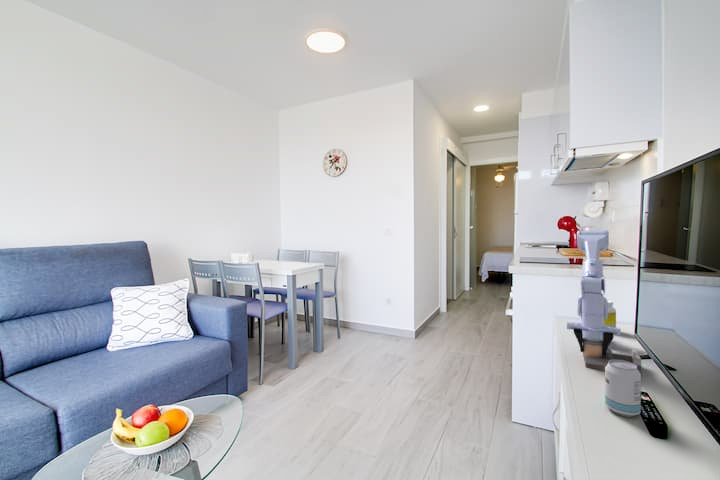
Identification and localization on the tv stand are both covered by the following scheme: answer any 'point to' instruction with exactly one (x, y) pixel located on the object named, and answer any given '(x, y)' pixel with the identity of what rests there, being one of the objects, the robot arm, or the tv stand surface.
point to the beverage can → (623, 388)
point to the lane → (601, 363)
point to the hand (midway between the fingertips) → (592, 352)
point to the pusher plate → (609, 354)
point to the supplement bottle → (610, 315)
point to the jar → (592, 347)
